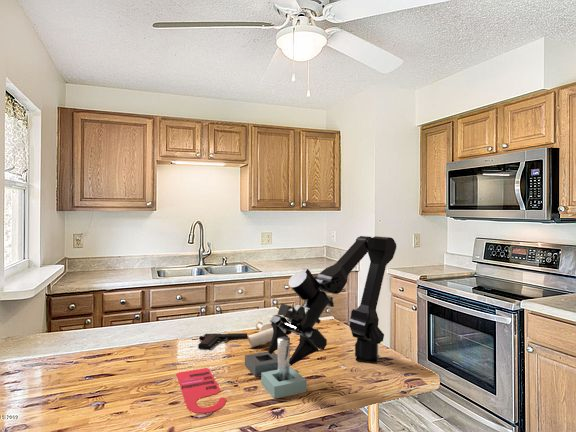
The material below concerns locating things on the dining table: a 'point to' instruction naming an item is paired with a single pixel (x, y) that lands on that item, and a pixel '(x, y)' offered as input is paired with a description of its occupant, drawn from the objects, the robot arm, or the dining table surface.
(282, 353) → the steel pin
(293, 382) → the block
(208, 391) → the door hanger
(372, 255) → the robot arm
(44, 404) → the dining table surface
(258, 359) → the socket block
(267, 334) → the toilet paper hanger
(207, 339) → the handgun
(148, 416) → the dining table surface
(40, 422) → the dining table surface
